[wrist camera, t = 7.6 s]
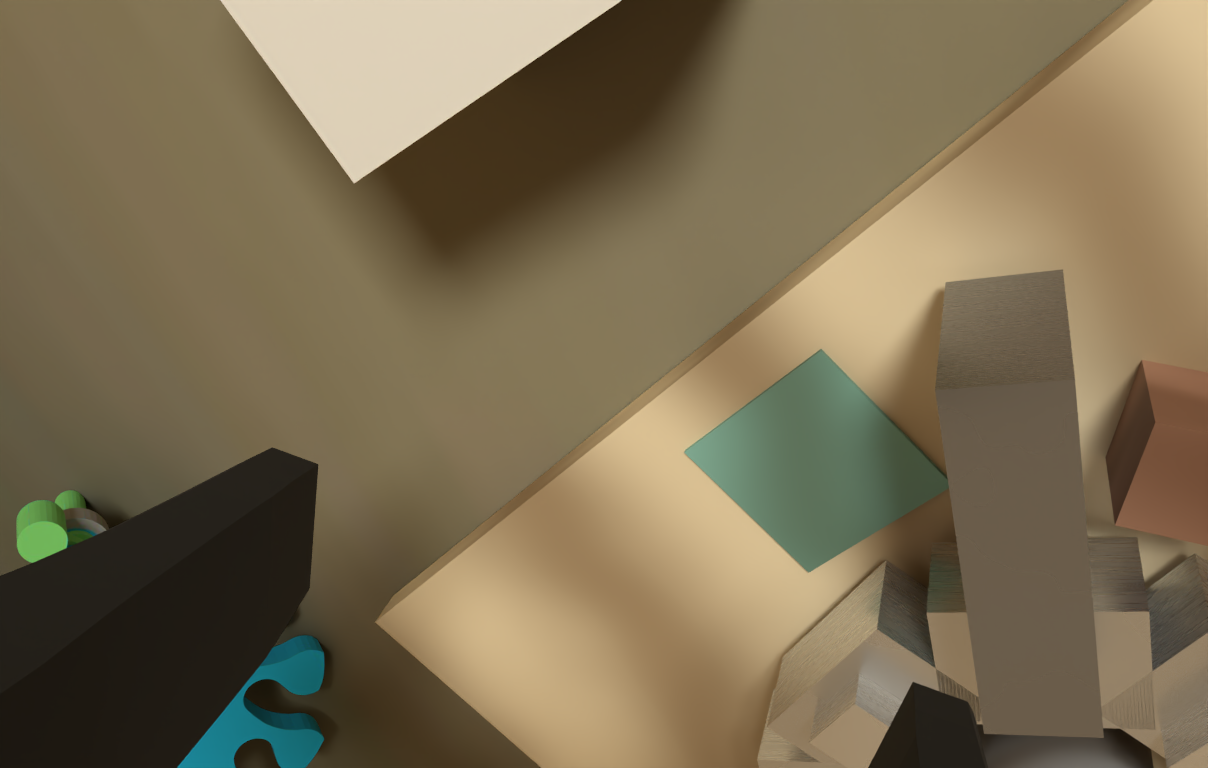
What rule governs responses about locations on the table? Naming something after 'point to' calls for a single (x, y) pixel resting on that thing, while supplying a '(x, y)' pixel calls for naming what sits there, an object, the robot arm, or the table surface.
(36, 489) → the table surface
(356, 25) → the cream cube
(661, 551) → the beige square board
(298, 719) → the gear
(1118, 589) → the faceted metal ring
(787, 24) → the table surface
